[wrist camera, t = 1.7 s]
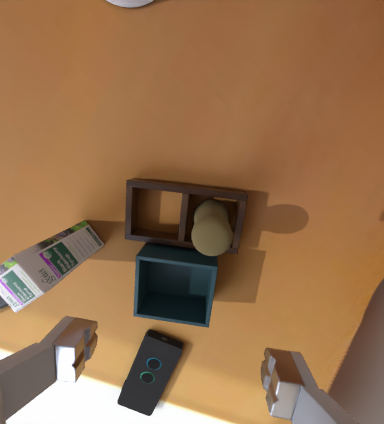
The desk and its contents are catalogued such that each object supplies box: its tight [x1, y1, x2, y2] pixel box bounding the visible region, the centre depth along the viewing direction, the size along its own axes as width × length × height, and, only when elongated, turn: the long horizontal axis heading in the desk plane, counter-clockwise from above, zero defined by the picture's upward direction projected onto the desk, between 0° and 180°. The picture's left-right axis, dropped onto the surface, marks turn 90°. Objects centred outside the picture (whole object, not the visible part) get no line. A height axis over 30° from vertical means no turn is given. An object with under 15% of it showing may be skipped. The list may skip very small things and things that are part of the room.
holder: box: [125, 178, 248, 254], centre depth 34 cm, size 10×19×3 cm, turn 84°
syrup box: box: [0, 221, 104, 312], centre depth 31 cm, size 6×6×14 cm
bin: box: [133, 242, 218, 327], centre depth 35 cm, size 11×12×7 cm
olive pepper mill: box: [191, 199, 233, 256], centre depth 30 cm, size 6×6×11 cm
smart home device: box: [118, 330, 183, 416], centre depth 44 cm, size 8×2×20 cm
